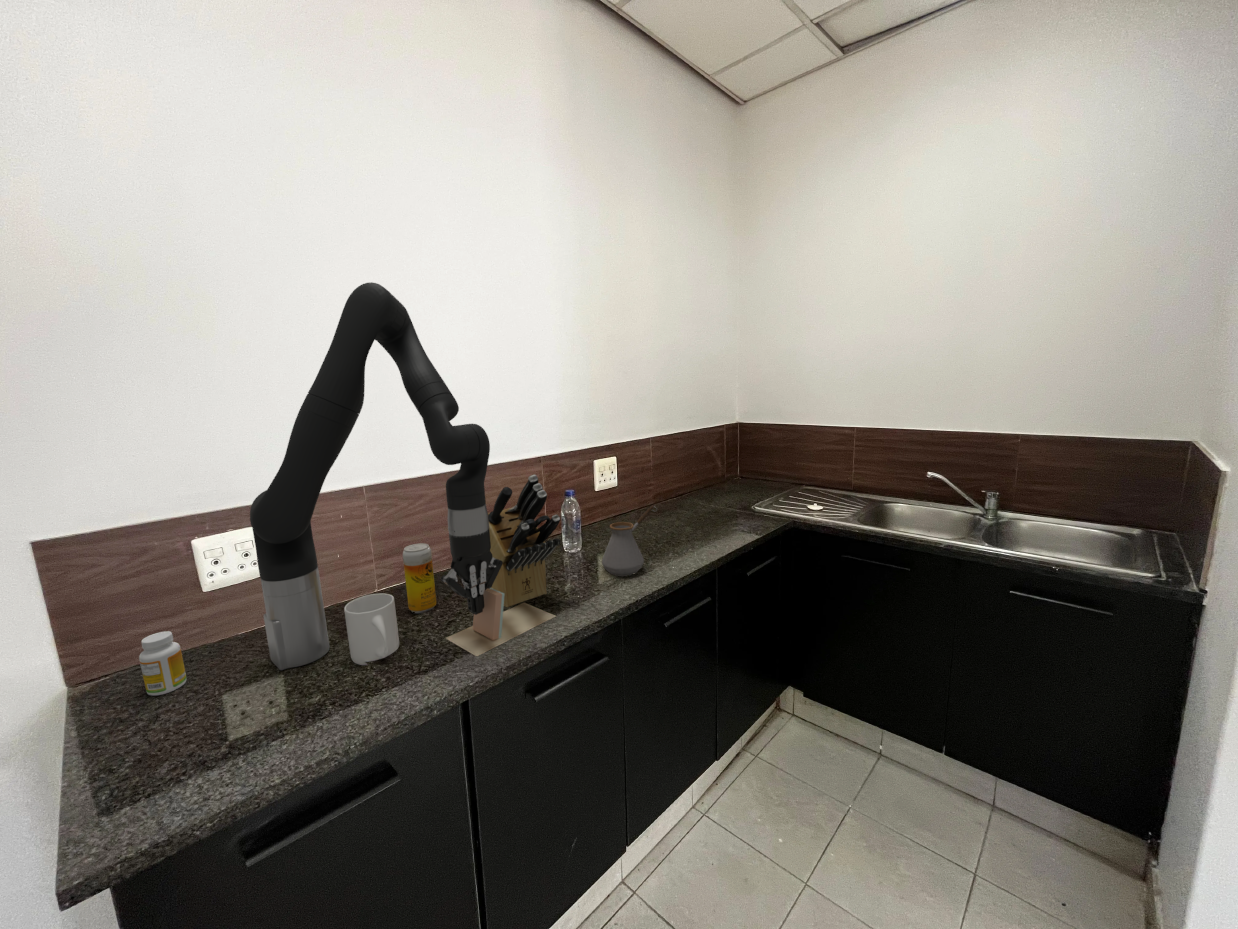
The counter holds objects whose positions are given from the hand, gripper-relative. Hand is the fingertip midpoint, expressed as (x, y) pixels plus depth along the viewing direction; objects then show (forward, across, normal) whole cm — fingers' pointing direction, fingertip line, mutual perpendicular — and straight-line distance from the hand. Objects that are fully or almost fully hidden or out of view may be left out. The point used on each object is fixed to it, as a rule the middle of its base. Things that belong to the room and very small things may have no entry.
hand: (476, 612), depth 99 cm
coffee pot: (+7, +51, +2) cm, 51 cm away
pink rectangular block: (+6, +2, 0) cm, 6 cm away
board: (+7, +6, 0) cm, 9 cm away
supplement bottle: (+7, -43, +32) cm, 54 cm away
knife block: (+7, +18, +14) cm, 24 cm away
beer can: (+7, +1, +24) cm, 25 cm away
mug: (+7, -15, +11) cm, 20 cm away
